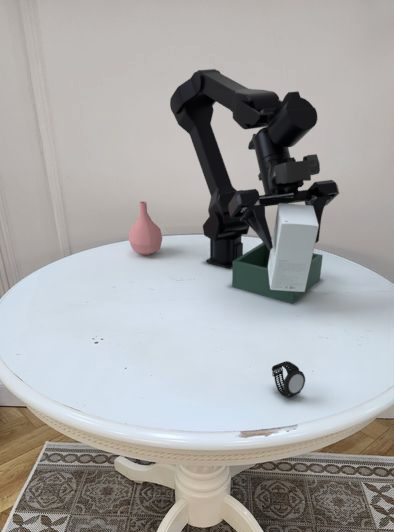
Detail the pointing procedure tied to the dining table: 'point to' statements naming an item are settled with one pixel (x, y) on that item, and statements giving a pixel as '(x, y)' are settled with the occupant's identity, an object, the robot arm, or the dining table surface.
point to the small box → (292, 247)
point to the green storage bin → (256, 274)
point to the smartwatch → (288, 379)
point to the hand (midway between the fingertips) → (293, 245)
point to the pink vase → (145, 233)
